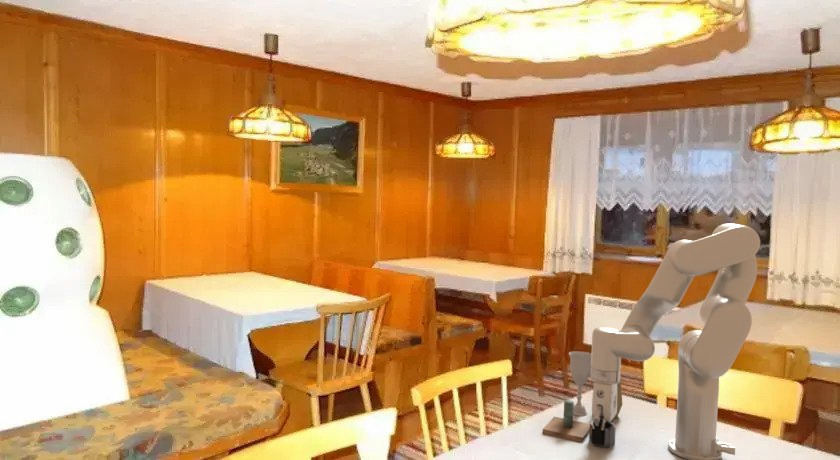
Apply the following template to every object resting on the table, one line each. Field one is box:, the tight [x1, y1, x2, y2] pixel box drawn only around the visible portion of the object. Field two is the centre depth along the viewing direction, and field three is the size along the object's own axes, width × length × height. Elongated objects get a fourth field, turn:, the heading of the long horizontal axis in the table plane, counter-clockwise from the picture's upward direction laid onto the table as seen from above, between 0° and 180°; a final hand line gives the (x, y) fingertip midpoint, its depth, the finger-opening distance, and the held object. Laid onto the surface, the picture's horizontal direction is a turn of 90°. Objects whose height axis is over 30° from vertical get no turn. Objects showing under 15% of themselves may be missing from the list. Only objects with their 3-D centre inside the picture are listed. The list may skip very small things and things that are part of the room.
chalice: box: [568, 350, 592, 417], centre depth 182 cm, size 7×7×18 cm
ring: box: [588, 419, 617, 449], centre depth 161 cm, size 6×6×5 cm
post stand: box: [542, 399, 590, 443], centre depth 168 cm, size 11×11×8 cm
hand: (602, 437), depth 161 cm, fingers open, 9 cm apart
